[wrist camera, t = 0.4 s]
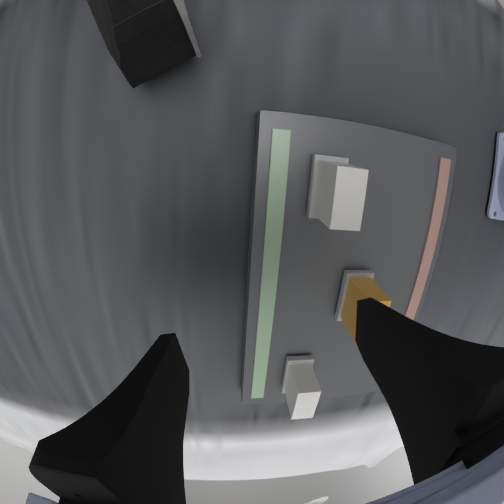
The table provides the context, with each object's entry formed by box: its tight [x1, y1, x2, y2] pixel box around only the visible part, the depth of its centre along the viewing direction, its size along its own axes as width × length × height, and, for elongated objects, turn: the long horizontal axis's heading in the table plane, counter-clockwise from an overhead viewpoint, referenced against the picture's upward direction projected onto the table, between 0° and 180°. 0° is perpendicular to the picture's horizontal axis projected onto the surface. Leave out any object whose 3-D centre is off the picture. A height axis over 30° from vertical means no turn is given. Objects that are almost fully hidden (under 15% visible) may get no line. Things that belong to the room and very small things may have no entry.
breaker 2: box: [306, 154, 369, 231], centre depth 15 cm, size 2×4×4 cm, turn 176°
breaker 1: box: [281, 355, 321, 420], centre depth 20 cm, size 2×4×4 cm, turn 176°
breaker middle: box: [335, 270, 392, 344], centre depth 18 cm, size 2×4×4 cm, turn 176°
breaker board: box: [241, 110, 457, 404], centre depth 21 cm, size 14×22×2 cm, turn 176°
